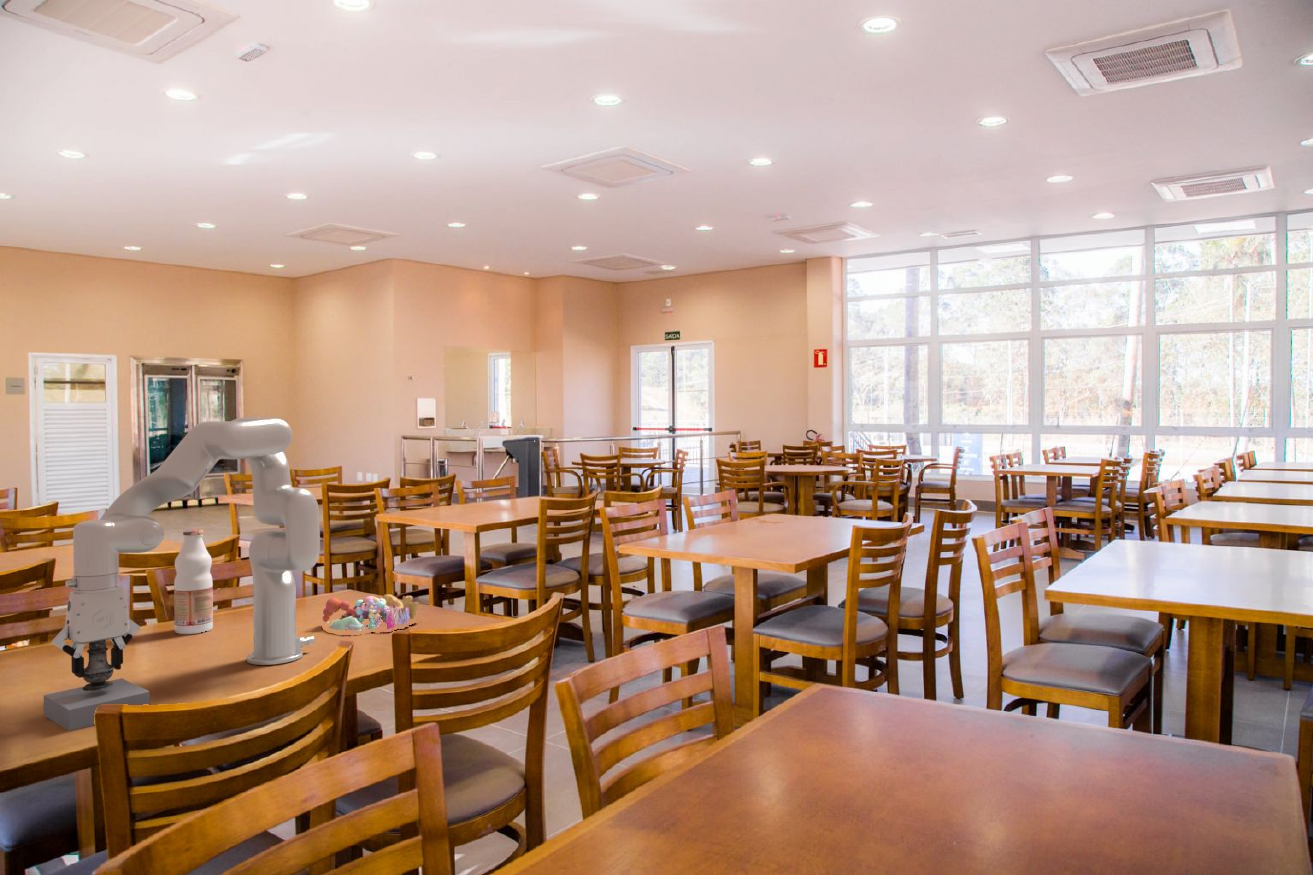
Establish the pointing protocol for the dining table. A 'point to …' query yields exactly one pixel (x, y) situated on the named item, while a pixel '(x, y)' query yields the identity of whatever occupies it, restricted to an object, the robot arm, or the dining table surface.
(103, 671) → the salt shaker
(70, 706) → the stand
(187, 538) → the fruit juice
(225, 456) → the robot arm
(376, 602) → the candy landscape model
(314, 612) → the dining table surface
